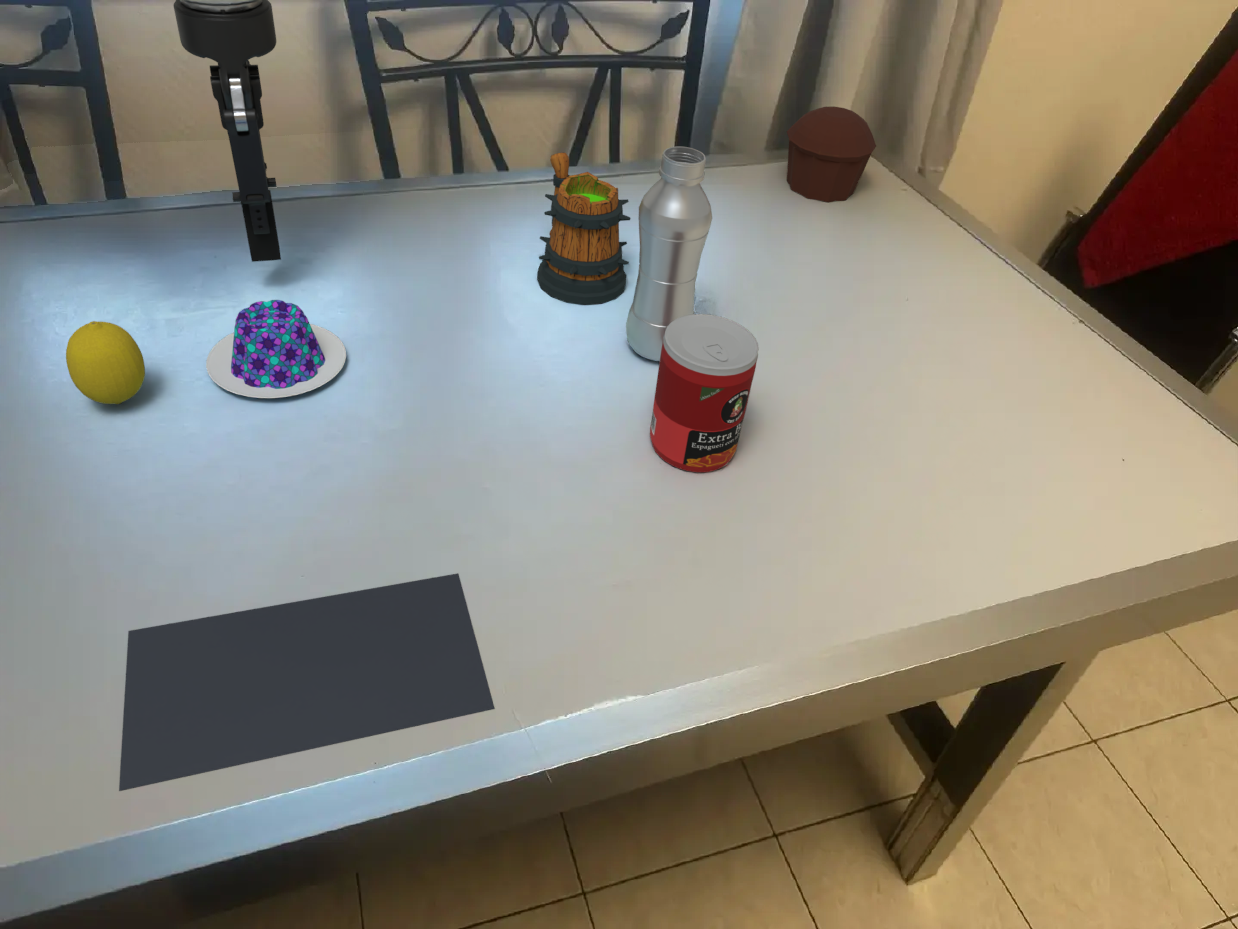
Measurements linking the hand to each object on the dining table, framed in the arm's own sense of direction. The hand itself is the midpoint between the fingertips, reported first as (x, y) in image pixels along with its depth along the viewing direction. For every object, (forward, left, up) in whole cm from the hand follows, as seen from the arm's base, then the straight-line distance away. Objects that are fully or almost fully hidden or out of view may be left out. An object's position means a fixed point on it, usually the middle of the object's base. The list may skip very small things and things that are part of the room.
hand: (266, 256), depth 93 cm
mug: (+25, +19, -4) cm, 32 cm away
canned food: (+46, -2, -4) cm, 46 cm away
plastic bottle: (+38, +10, -4) cm, 39 cm away
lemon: (+1, -21, -4) cm, 21 cm away
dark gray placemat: (+31, -36, -4) cm, 48 cm away
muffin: (+43, +57, -4) cm, 72 cm away
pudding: (+8, -10, -4) cm, 13 cm away
